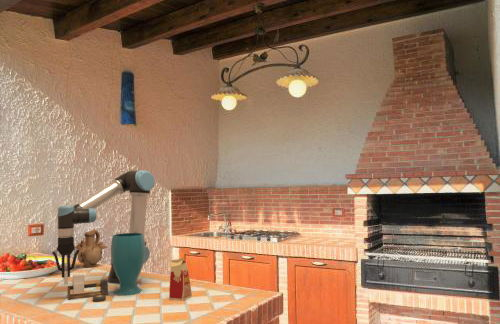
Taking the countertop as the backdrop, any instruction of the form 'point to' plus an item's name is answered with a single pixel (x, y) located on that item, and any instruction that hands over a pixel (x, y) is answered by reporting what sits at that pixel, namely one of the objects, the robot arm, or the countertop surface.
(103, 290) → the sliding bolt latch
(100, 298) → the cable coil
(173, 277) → the milk carton
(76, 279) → the sleeve
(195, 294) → the countertop surface
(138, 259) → the vase
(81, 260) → the ceramic vessel
